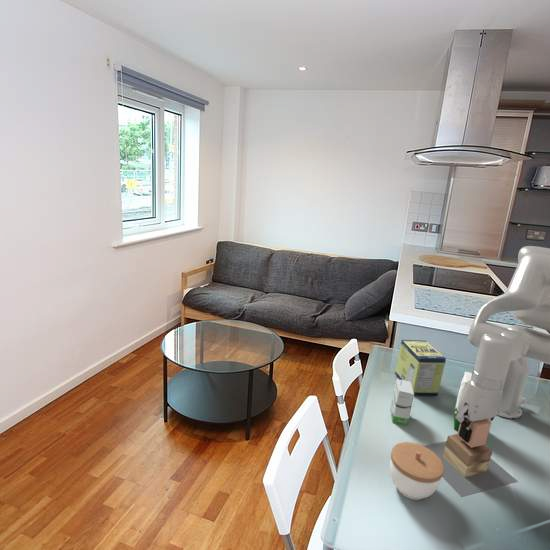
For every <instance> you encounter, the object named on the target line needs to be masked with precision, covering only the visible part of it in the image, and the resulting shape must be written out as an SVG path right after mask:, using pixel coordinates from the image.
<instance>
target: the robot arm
mask: <svg viewBox="0 0 550 550" xmlns="http://www.w3.org/2000/svg"><path fill="white" fill-rule="evenodd" d="M517 262H518V263H517V267H516V268H515V270H514V273H513V274H512V277H511V280H510V281H509V284H508V286H507V289H506V291H505V292H504V293H502V294H501V295H497V296H494V297H493V298H492V299H490V300H488V301H487V302H485V303H484V304H483V305H482V306H481V307H480V308H479V309H478V311H477V313H476V315H475V317H474V319H473V320H472V321H473V322H472V323H471V326H470V328H469V331H468V336H467V337H468V341H469V343H470V344H471V345H472V346H474V347H477V348H478V351H477V353H476V357H475V358H476V359H475V363H474V365H473V366H474V367H473V369H472V372H471V373H472V376H471V381H469V382H468V383H467V385H466V387H465V389H464V391H463V394H462V397H461V400H460V403H459V406H458V412H459V413H458V414H457V415H456V416H455V418H456V419H457V420H458V421H459V422H460V424H461V427H460V431H459V436H460V437H461V438H462V439H463V440H464V441H465V442H467V443H468V442H469V440H470V437H471V433H472V430H471V428H472V426H473V424H474V422H475V421H478V420H484V419H486V420H488V421H489V422H491V423H492V421H493V420H494V419H495V417H496V416H499V417H503V418H506V419H512V418H515V419H519V418H521V417H522V415H523V410H522V409H521V408H520V406H521V404H526V403H527V402H528V400H527V398H526V397H525V396H524V397H523V393H524V389H525V386H526V383H527V379H528V377H529V374H530V365H529V363H528V360H527V358H528V359H532V360H535V361H537V362H540V363H543V364H546V365H550V334H549V333H550V247H549V248H548V247H543V246H538V245H537V246H535V245H527V246H526V245H525V246H523V247H521V248H520V249H519V251H518V256H517ZM506 312H514V318H515V319H516V320H517V322H519V323H522V324H524V325H527V326H530V327H534V328H537V329H540V330H544V331H547V332H549V333H545V332H542V331H540V330H539V331H538V330H537V329H533V328H529V327H526V326H522V325H516V324H513V325H512V324H510V325H509V326H506V327H503V326H501V325H497V324H494V323H491V322H488V320H490V319H489V318H491V317H493V316H495V315H496V314H500V313H506ZM520 416H521V417H520ZM467 419H468V420H470V421H469V423H467V422H466V420H467Z"/></svg>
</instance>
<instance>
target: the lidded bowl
mask: <svg viewBox="0 0 550 550" xmlns="http://www.w3.org/2000/svg"><path fill="white" fill-rule="evenodd" d="M424 446H425V445H421V444H419V443H417V442H416V443H415V442H412V441H411V442H409V441H403V442H398V443H396V444H395V445H394V446H393V447H392V449H391V451H390V459H389V473H390V477H391V481H392V483H393V484H394V486H395V488H396V489H397V491H398V492H399V493H400V494H401V495H403V496H404V497H406V498H408V499H410V500H414V501H419V500H422V499H426V498H429V497H430V496H433V494H434V493H436V491H437V490H438V487H439V485H440V483H441V481H442V478H443V477H442V475H443V473H444V466H443V463H442V461H441V460H440V458H439V457H438V456H437V455H436V454H435V453H434V452H433V451H431V450H430V449H428V448H426V447H424Z"/></svg>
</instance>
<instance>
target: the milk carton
mask: <svg viewBox="0 0 550 550" xmlns="http://www.w3.org/2000/svg"><path fill="white" fill-rule="evenodd" d="M463 374H464V375H463V377H462V379H461V382H460V387H459V391H458V394H457V398H456V403H455V406H454V413H453V414H454V416H453V421H454V422H453V430H454V431H457V432H458V430H459V426H460V422H459V421H458V420H457V419H456V418H455V416H456V415H457V414H458V413H459V412H458V406H459V403H460V400H461V397H462V394H463V391H464V389H465V387H466V385H467V383H468V382H469V381H471V376H472V372H469V371H464V373H463Z"/></svg>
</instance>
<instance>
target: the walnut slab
mask: <svg viewBox="0 0 550 550" xmlns="http://www.w3.org/2000/svg"><path fill="white" fill-rule="evenodd" d="M457 434H458V433H456V434H449V435H447V438H446V441H447V442H446V445H445V446H446V447H447V448H448V449H449V450H450V451H451V452H452V453H453V454H454V455H455V456H456V457H458V458H459V459H460V460H461V461H462V462H463V463H464V464H465V465H466V466H467V467H468V466H472V465H476V464H480V463H485V462H489V461H490V458H491V457H492V454H493V450H492V449H491V448H490V447H489V446H487V445H486V444H485V445H481V446H477V447H472V448H471V447H470V446H469V445H467V444H466V443H465V442H464V441H463V440H462V439H461V438H459V437H458V436H457ZM491 459H492V458H491Z"/></svg>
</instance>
